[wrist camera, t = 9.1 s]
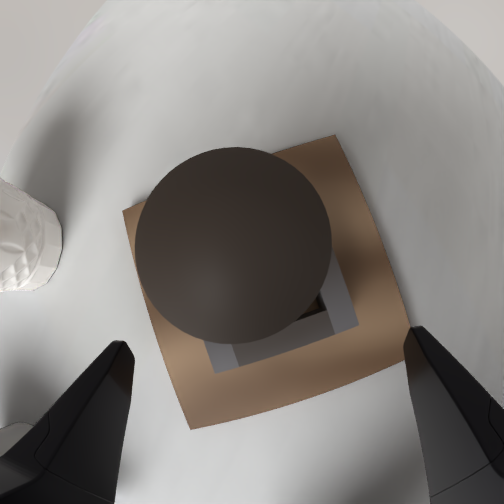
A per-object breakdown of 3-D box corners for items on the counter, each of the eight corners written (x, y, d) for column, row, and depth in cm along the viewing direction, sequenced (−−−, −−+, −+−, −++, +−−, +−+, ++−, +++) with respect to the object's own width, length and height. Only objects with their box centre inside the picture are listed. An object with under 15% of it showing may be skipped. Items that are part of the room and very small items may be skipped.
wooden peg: (301, 299, 17) (360, 303, 4) (248, 317, 17) (166, 366, 5) (282, 247, 18) (288, 124, 5) (231, 265, 18) (118, 187, 5)
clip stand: (411, 351, 17) (440, 362, 13) (194, 423, 18) (175, 450, 14) (332, 141, 19) (342, 108, 15) (129, 214, 20) (98, 196, 16)
